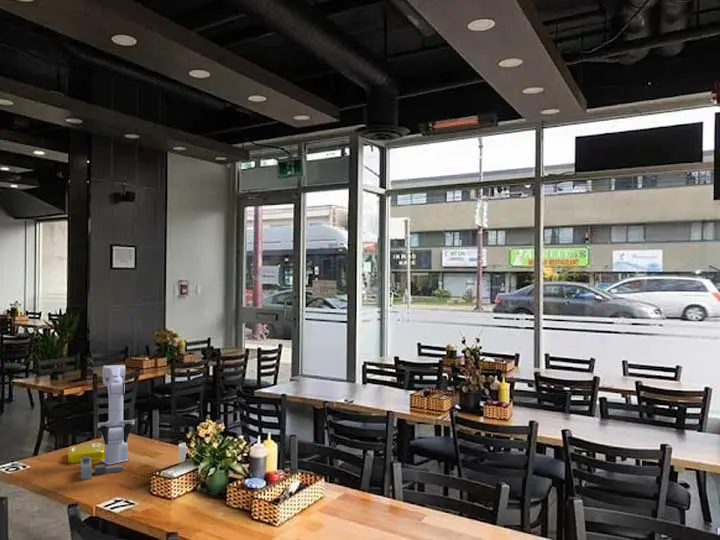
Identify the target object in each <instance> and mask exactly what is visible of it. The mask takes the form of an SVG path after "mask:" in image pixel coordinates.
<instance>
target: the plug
mask: <svg viewBox="0 0 720 540" xmlns="http://www.w3.org/2000/svg"><path fill="white" fill-rule="evenodd" d="M123 471H124V466H123V464H120V465H119V464H118V465H109V466H106V464H105V463H104V464H96V465H94V468H92V473H94V476H100V475H106V474H112V473H121V472H123Z"/></svg>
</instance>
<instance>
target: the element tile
mask: <svg viewBox="0 0 720 540" xmlns="http://www.w3.org/2000/svg"><path fill="white" fill-rule="evenodd" d="M67 455H68V456H67V460H68V461H67V463H69V464H77V463H78V464H79V463H81V459H83V456H89V458H91V462H95V461H96V462H97V461H101V460H104V459H105V443H104V442H101V443H99V442H97V443H88V444H87V443H86V444H78V445H70V446H69V447H68V453H67Z"/></svg>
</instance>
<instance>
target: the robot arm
mask: <svg viewBox="0 0 720 540" xmlns="http://www.w3.org/2000/svg"><path fill="white" fill-rule="evenodd" d="M125 378H126V365H125V364H119V365H118V364H117V365H116V364H115V365H103V366H102V382H103V383H102V384H103V385H104V386H106V387H107V394H108V420H107V421H105V422H104V421H102V422H97V428H99V431H100V434H101V442H102V443H104V459H103V460H100V462H102V463H104V464H105V465H107V466H112V465H114V464H118V463H119V464H120V463H123V462H128V461H129V459H128V457H129V445H128V438H129V435H130V432H131V429H132V428H133V425H135V419H130V420H129V419H128V420H127V419H126V420H124V395H125V390H126V389H125V388H126V385H125V380H126V379H125Z"/></svg>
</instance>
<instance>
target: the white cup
mask: <svg viewBox="0 0 720 540" xmlns="http://www.w3.org/2000/svg"><path fill="white" fill-rule="evenodd" d="M177 447H178V448H177V452H178V453H177V454H178V464H179V463H180V462H183V461H184V460H185V458H186V454H187V453H188V447H187V446H186V442H181V443H179V444H178V446H177Z"/></svg>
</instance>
